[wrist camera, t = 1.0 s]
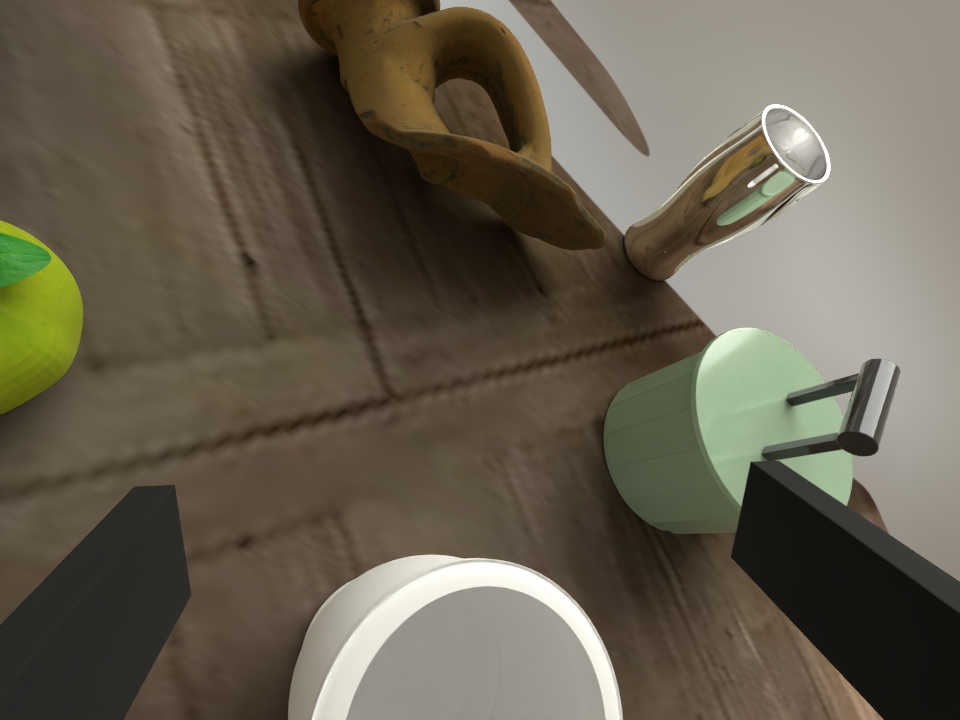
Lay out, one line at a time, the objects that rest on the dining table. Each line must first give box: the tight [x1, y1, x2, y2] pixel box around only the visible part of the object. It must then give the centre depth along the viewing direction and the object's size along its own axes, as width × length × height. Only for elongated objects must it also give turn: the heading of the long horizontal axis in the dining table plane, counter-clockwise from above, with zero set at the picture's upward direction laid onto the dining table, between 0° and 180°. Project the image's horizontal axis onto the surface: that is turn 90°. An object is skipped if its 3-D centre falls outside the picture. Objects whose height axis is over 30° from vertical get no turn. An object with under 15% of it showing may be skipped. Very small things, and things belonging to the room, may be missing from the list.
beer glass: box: [624, 104, 831, 281], centre depth 41 cm, size 7×7×15 cm
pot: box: [603, 350, 740, 534], centre depth 37 cm, size 13×13×10 cm
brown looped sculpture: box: [298, 0, 606, 250], centre depth 36 cm, size 18×13×22 cm
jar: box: [288, 555, 623, 720], centre depth 22 cm, size 11×10×15 cm
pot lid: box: [690, 328, 901, 512], centre depth 30 cm, size 14×14×8 cm
